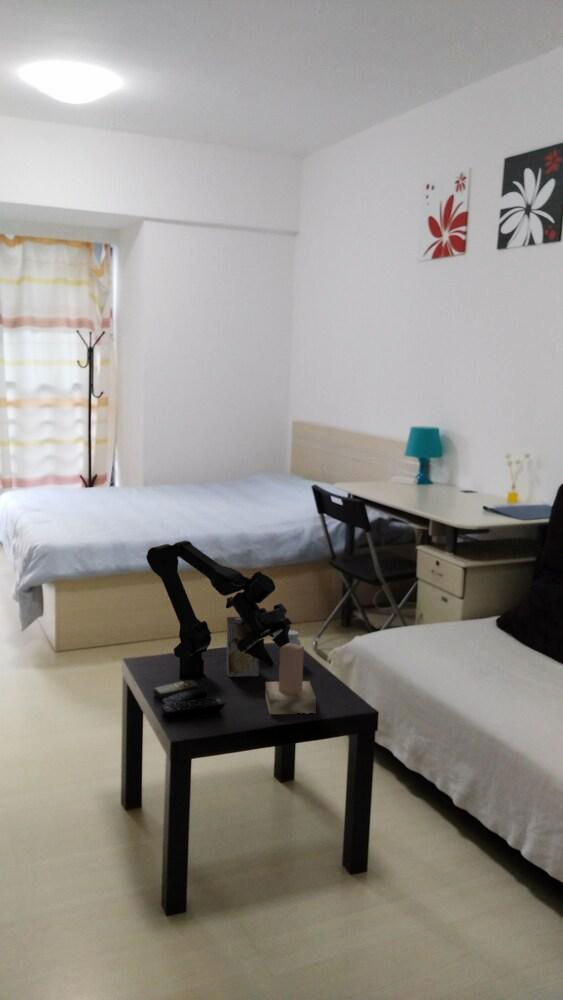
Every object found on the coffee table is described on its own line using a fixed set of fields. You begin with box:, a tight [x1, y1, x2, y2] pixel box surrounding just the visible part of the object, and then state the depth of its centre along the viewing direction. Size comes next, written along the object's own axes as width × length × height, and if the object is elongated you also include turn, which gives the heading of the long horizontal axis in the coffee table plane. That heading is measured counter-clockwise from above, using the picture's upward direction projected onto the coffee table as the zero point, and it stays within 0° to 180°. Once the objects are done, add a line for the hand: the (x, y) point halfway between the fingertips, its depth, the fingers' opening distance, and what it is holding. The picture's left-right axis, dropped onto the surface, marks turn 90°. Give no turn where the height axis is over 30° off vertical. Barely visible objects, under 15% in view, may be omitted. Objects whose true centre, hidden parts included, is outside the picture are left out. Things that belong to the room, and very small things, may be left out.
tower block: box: [278, 643, 305, 695], centre depth 228 cm, size 4×4×12 cm
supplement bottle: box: [288, 629, 301, 646], centre depth 258 cm, size 5×5×10 cm
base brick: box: [264, 680, 317, 715], centre depth 229 cm, size 12×12×4 cm
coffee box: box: [226, 616, 260, 678], centre depth 249 cm, size 9×6×16 cm
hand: (282, 660), depth 229 cm, fingers open, 9 cm apart
